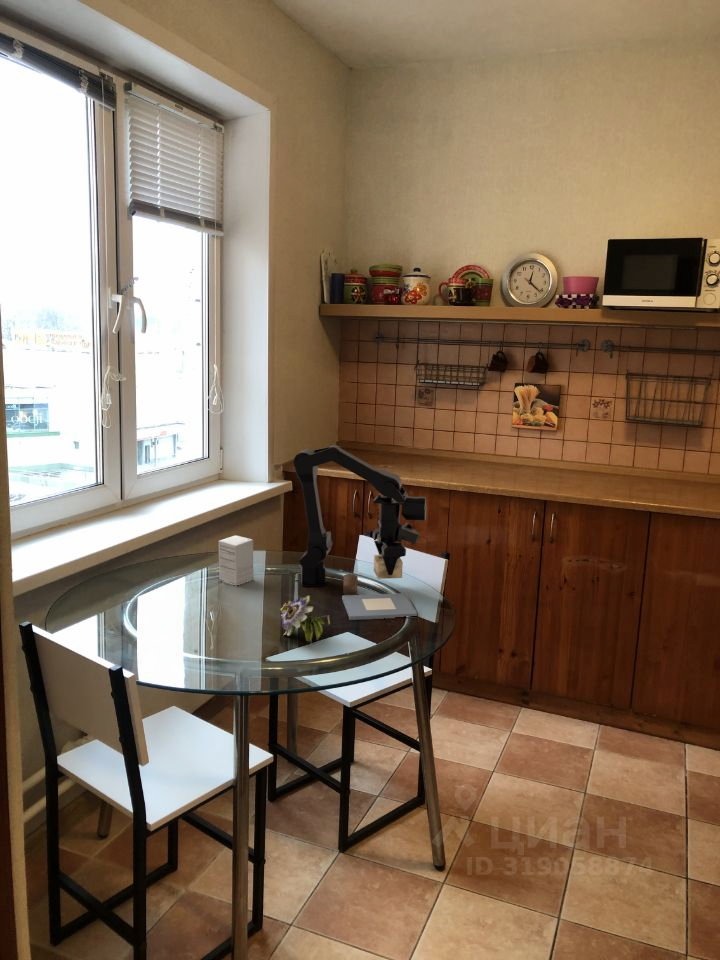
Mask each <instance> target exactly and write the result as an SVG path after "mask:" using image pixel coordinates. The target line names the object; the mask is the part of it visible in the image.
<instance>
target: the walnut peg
mask: <svg viewBox="0 0 720 960" xmlns="http://www.w3.org/2000/svg"><path fill="white" fill-rule="evenodd" d="M358 578H359V577H358V575H357V574H354V573H346V574H344V575H343V585H342V586H343V587H342V589H343V590H342V592H343V593H342V594H344V595H358Z"/></svg>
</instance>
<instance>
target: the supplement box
mask: <svg viewBox="0 0 720 960" xmlns="http://www.w3.org/2000/svg"><path fill="white" fill-rule="evenodd" d="M217 541H218V575H219V576H218V577H219V579H222V580H224V581H227V582H229V583H232V584H235V585H239V586H241V585H240V584H242V583H244V584H246V583H245V582H247V581H249V582H251V581H250V580H252V581H254V580H253V579H255V578H254V539H251V538H249V537H248V538H247V537H244V536H240V535H232V536H229V537H226V538H224V539H220V540H217ZM219 579H218V580H219ZM247 583H248V582H247ZM242 585H243V584H242Z"/></svg>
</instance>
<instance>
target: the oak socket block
mask: <svg viewBox="0 0 720 960" xmlns="http://www.w3.org/2000/svg"><path fill="white" fill-rule="evenodd" d="M403 567H404V566H403V560H402V558H401V557H400V558H398V559H397V562H396V565H395V568H394V571H393V574H392V575H388V572H387V569H386V566H385V563H384V560H383V557H382V555H379V554H374V555H373V572H374V574H375V576H376V578H377V579H379V580H380V579H381V580H382V579H385V580H386V579H403Z"/></svg>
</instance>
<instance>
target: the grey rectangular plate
mask: <svg viewBox="0 0 720 960" xmlns="http://www.w3.org/2000/svg"><path fill="white" fill-rule="evenodd" d="M341 600H342V602H343V605H344V608H345V610H346V614H347V615H348V619H349V620H350V621H356V620H358V621H359V620H382V619H383V620H384V618H385V619H396V618H395V617H404V616H417V617H418V612H417V611H416V608H415V607H414V606H413V604H412V602H411V600H410V599H409V597H408V596H407V593H405V592H404V593H402V592H400V593H399V592H398V593H373V594H372V593H371V594H356V595H345V594H344V595H342V596H341Z"/></svg>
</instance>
